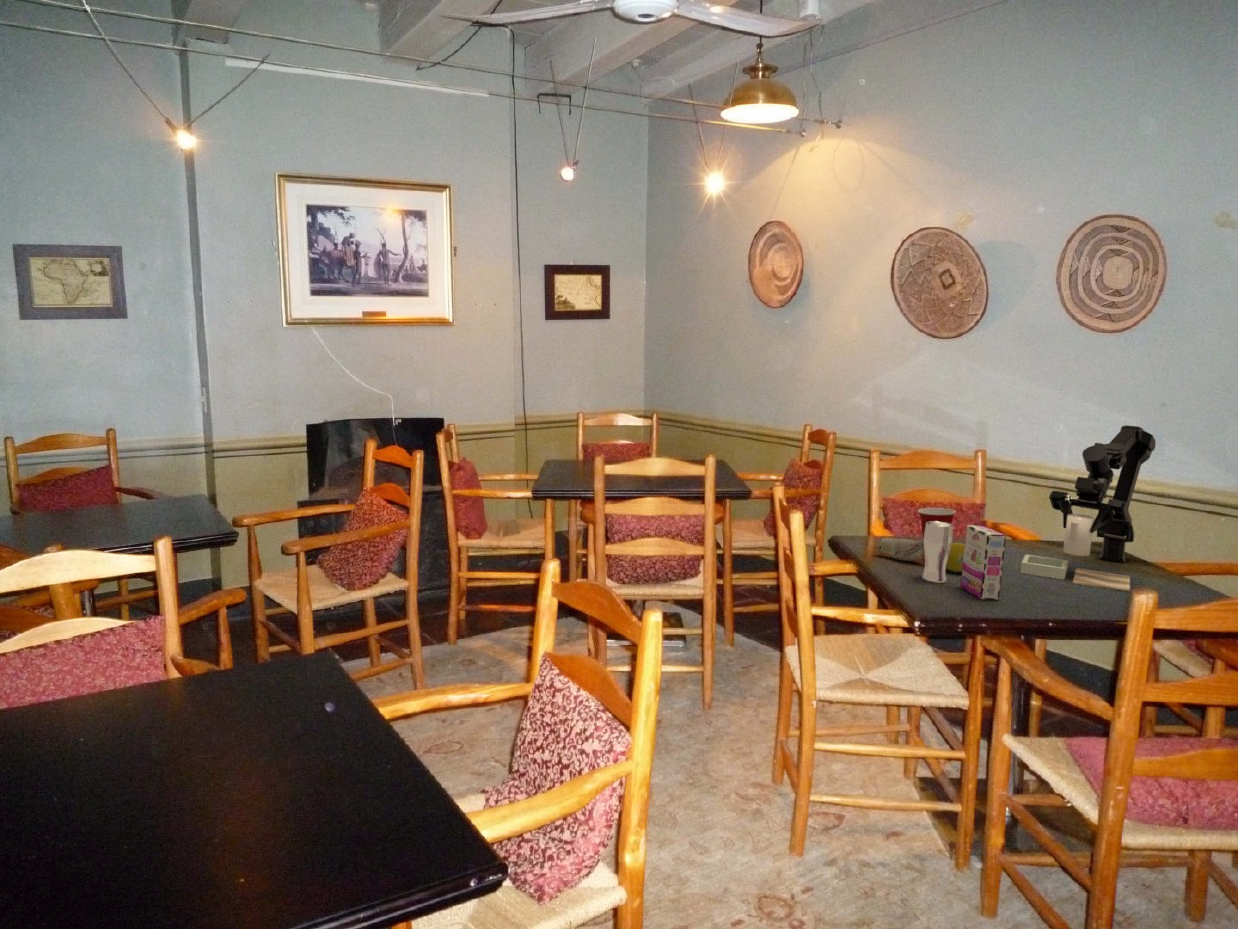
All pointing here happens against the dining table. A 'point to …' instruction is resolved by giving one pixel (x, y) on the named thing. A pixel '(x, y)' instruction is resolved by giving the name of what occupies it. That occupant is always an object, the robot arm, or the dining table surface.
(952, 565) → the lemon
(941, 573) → the beer glass
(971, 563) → the candy bar box
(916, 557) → the decorative bird
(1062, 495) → the robot arm
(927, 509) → the plastic cup
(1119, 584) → the serving board
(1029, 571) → the glass holder
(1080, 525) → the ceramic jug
